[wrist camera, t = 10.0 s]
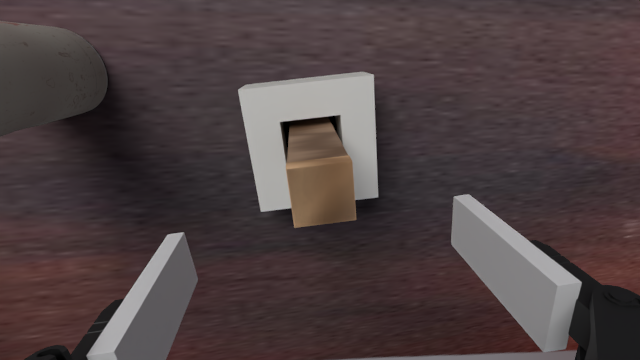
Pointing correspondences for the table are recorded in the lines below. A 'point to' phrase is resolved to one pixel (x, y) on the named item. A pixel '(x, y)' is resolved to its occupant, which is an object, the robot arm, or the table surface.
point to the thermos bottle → (46, 75)
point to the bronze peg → (319, 174)
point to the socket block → (304, 103)
